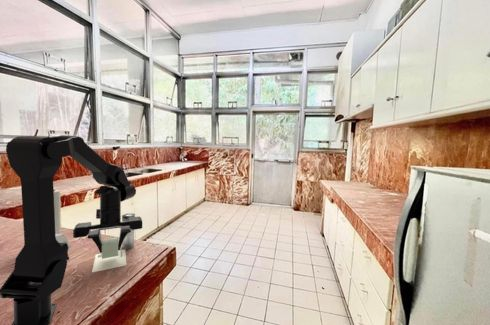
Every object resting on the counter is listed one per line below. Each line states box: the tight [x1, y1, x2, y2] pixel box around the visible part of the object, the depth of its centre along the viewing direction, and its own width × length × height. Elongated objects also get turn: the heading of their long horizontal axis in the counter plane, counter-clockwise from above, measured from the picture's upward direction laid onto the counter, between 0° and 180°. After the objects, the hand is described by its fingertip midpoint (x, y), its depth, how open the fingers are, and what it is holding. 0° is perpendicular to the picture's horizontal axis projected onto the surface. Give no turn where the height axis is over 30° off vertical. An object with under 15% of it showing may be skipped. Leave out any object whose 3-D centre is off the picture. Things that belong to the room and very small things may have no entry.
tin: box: [121, 212, 136, 250], centre depth 80 cm, size 4×4×12 cm
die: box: [55, 233, 72, 250], centre depth 71 cm, size 8×9×10 cm
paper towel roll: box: [54, 189, 62, 234], centre depth 76 cm, size 7×6×21 cm
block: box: [101, 237, 119, 259], centre depth 71 cm, size 4×4×4 cm
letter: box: [91, 249, 127, 274], centre depth 71 cm, size 12×9×1 cm
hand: (110, 251), depth 71 cm, fingers closed on block, 4 cm apart
